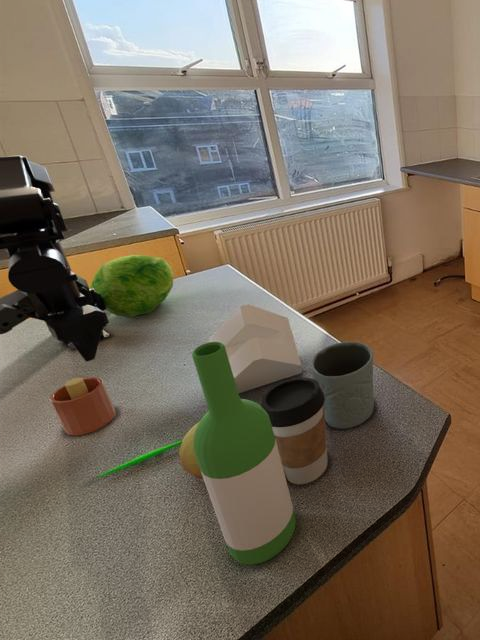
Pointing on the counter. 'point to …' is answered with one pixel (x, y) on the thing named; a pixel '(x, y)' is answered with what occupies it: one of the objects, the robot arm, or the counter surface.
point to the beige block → (258, 347)
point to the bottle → (240, 464)
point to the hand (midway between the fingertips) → (79, 351)
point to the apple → (189, 454)
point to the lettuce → (133, 284)
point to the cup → (84, 408)
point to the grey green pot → (345, 383)
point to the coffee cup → (298, 427)
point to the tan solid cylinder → (76, 388)
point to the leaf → (142, 458)
